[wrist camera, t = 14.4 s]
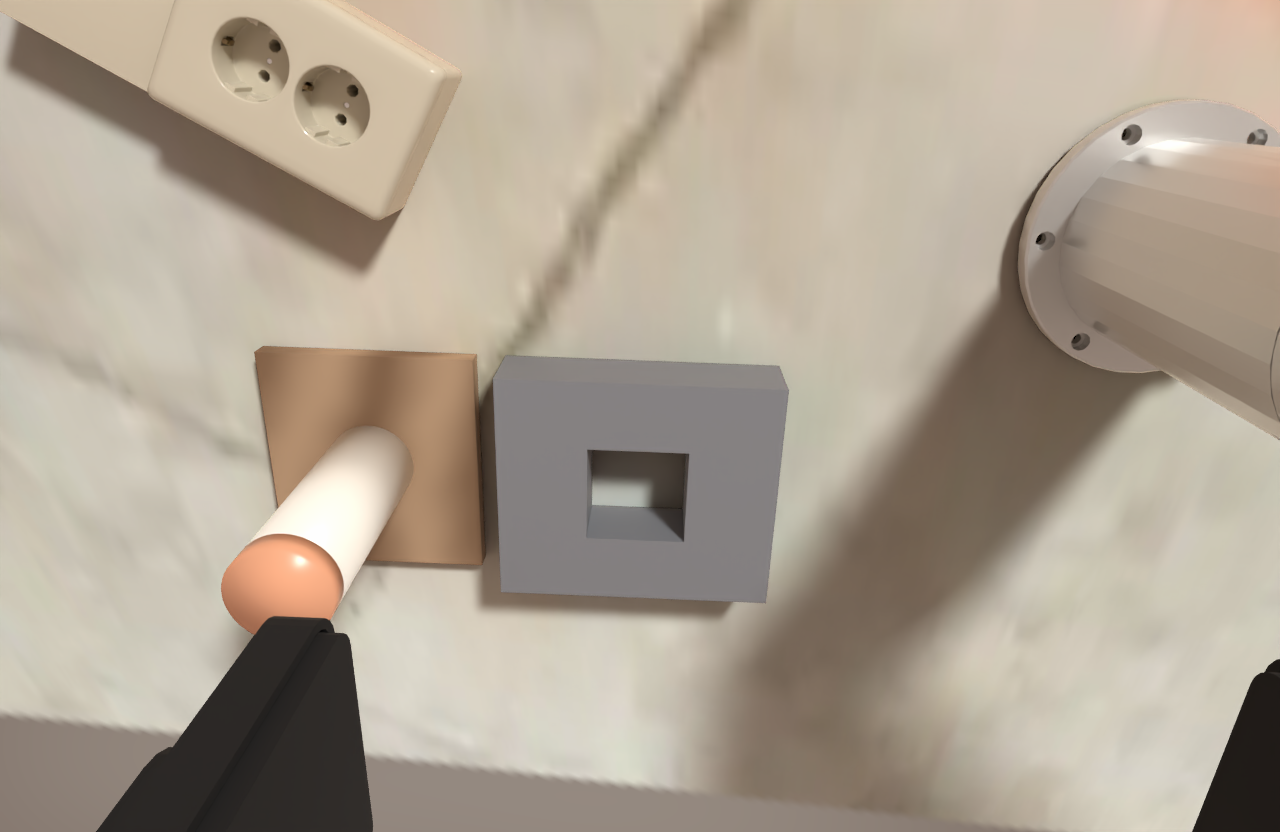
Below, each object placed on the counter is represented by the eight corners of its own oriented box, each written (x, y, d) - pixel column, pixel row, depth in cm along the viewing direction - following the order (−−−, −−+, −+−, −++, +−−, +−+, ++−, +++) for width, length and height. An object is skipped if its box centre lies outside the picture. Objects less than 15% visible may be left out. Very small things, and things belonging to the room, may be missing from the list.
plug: (409, 426, 43) (325, 550, 32) (417, 501, 44) (340, 643, 33) (324, 425, 43) (211, 548, 32) (336, 500, 44) (232, 642, 33)
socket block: (779, 366, 42) (788, 390, 39) (758, 566, 47) (765, 603, 43) (505, 355, 42) (492, 378, 39) (512, 556, 47) (500, 592, 44)
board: (476, 354, 42) (472, 360, 41) (485, 555, 47) (482, 564, 46) (263, 346, 42) (254, 352, 41) (293, 547, 47) (285, 556, 46)
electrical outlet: (5, -188, 31) (444, 71, 34) (77, -159, 34) (466, 72, 38) (-36, -1, 33) (377, 225, 36) (35, 7, 37) (404, 211, 40)
